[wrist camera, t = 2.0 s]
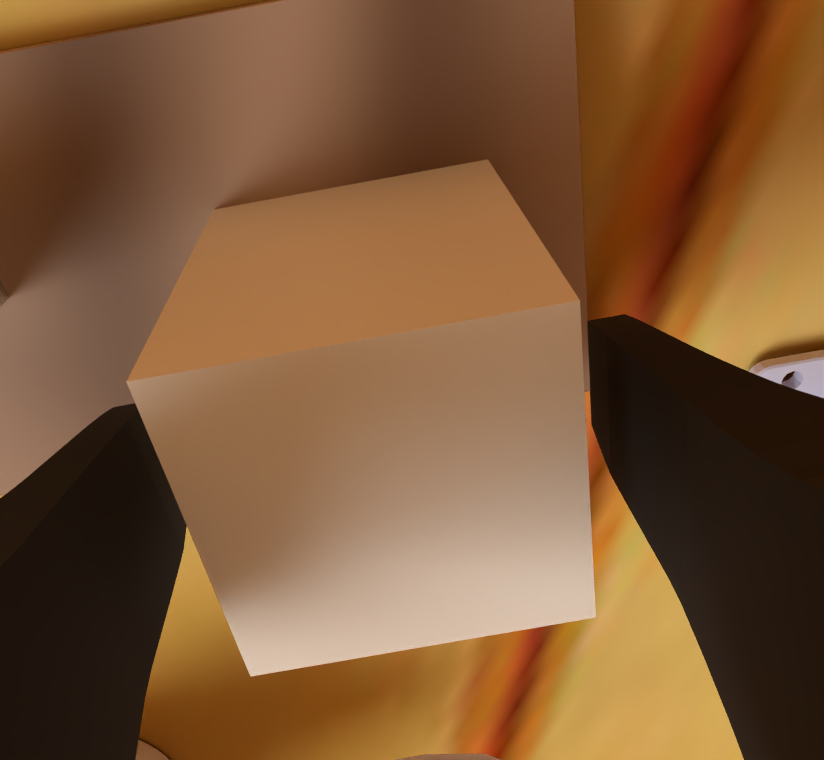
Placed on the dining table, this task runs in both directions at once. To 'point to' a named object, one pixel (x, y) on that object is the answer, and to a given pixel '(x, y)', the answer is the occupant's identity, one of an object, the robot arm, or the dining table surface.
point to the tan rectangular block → (376, 419)
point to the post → (3, 293)
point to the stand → (245, 162)
